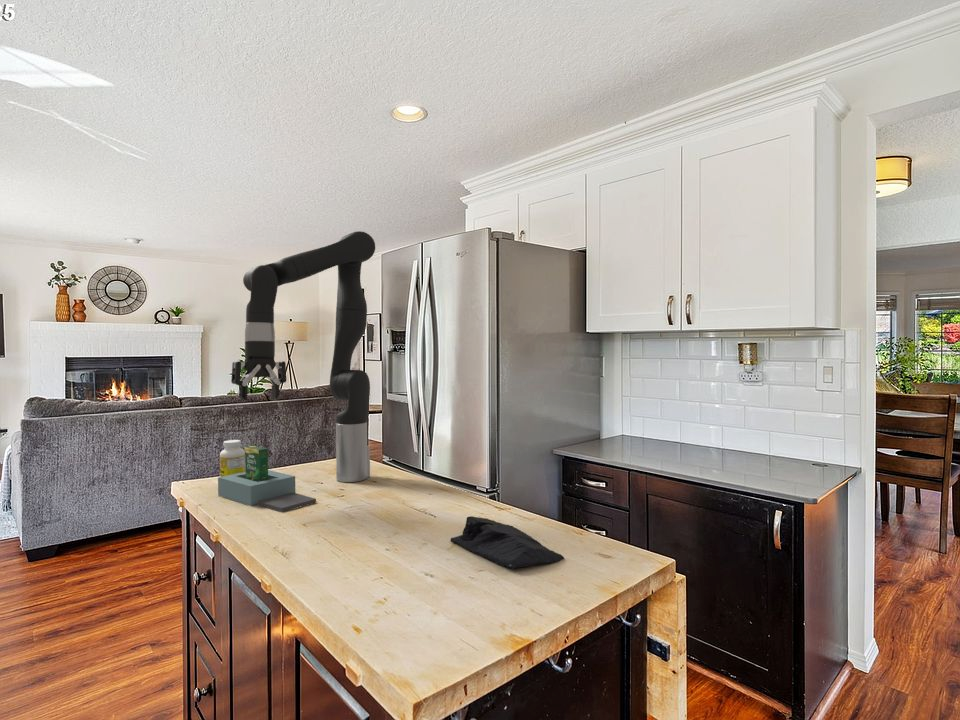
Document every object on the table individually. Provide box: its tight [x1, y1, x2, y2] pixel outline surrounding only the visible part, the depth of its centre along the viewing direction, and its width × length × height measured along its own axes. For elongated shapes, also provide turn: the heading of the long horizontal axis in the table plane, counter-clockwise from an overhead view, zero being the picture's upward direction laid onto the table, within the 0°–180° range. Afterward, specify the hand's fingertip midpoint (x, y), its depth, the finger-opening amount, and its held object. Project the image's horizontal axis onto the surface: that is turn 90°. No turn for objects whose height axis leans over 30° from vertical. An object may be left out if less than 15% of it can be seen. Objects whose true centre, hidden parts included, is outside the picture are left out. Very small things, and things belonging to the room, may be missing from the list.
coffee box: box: [244, 445, 269, 482], centre depth 145 cm, size 8×3×13 cm, turn 49°
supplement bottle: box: [219, 439, 246, 477], centre depth 156 cm, size 7×7×13 cm
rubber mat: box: [257, 492, 317, 513], centre depth 137 cm, size 10×10×1 cm
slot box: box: [217, 469, 296, 507], centre depth 145 cm, size 13×16×5 cm
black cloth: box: [450, 515, 565, 569], centre depth 106 cm, size 15×22×5 cm
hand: (259, 399), depth 145 cm, fingers open, 8 cm apart
